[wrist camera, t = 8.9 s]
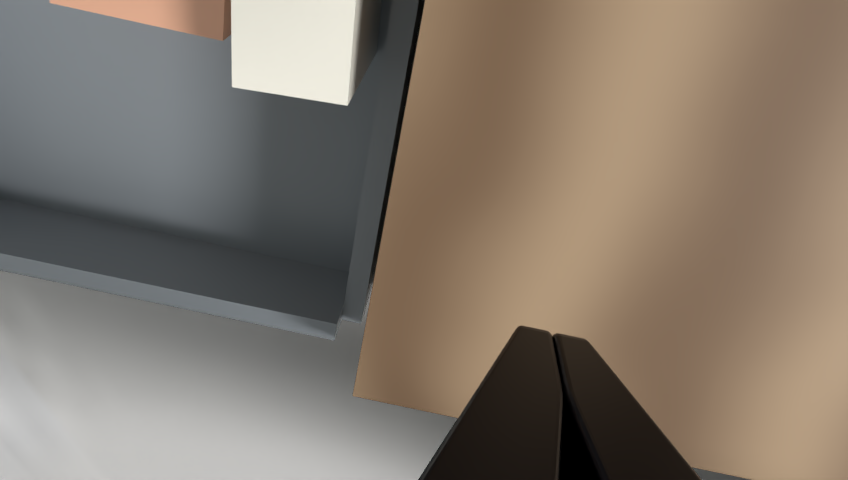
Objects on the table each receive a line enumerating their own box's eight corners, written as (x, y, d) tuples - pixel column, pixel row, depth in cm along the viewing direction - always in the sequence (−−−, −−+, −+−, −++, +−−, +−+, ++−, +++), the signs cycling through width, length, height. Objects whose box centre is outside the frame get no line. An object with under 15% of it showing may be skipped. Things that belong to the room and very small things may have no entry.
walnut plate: (1377, -439, 13) (1822, -571, 8) (836, 384, 23) (911, 513, 19) (556, -627, 12) (582, -860, 8) (381, 287, 23) (352, 395, 19)
